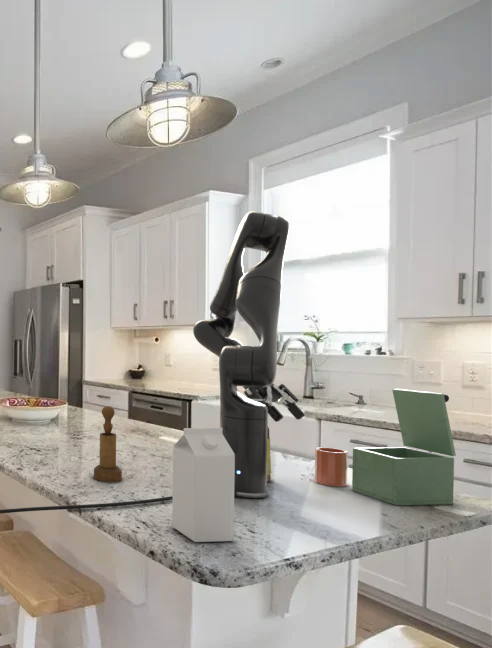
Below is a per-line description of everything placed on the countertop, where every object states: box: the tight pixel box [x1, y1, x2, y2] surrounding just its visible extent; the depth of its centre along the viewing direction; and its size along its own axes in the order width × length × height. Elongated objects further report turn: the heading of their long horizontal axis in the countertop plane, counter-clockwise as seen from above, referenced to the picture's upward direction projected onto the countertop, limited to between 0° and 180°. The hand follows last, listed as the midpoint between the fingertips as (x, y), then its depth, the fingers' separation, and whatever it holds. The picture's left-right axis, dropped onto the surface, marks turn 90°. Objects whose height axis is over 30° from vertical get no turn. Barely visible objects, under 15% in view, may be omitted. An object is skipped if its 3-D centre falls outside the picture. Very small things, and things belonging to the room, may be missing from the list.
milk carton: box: [171, 427, 235, 543], centre depth 89 cm, size 7×7×19 cm
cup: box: [314, 446, 348, 488], centre depth 120 cm, size 6×6×8 cm
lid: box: [392, 388, 457, 457], centre depth 110 cm, size 13×11×5 cm
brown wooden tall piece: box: [93, 405, 123, 483], centre depth 125 cm, size 7×6×18 cm
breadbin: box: [351, 446, 455, 506], centre depth 110 cm, size 13×11×10 cm
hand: (290, 418), depth 129 cm, fingers open, 8 cm apart
